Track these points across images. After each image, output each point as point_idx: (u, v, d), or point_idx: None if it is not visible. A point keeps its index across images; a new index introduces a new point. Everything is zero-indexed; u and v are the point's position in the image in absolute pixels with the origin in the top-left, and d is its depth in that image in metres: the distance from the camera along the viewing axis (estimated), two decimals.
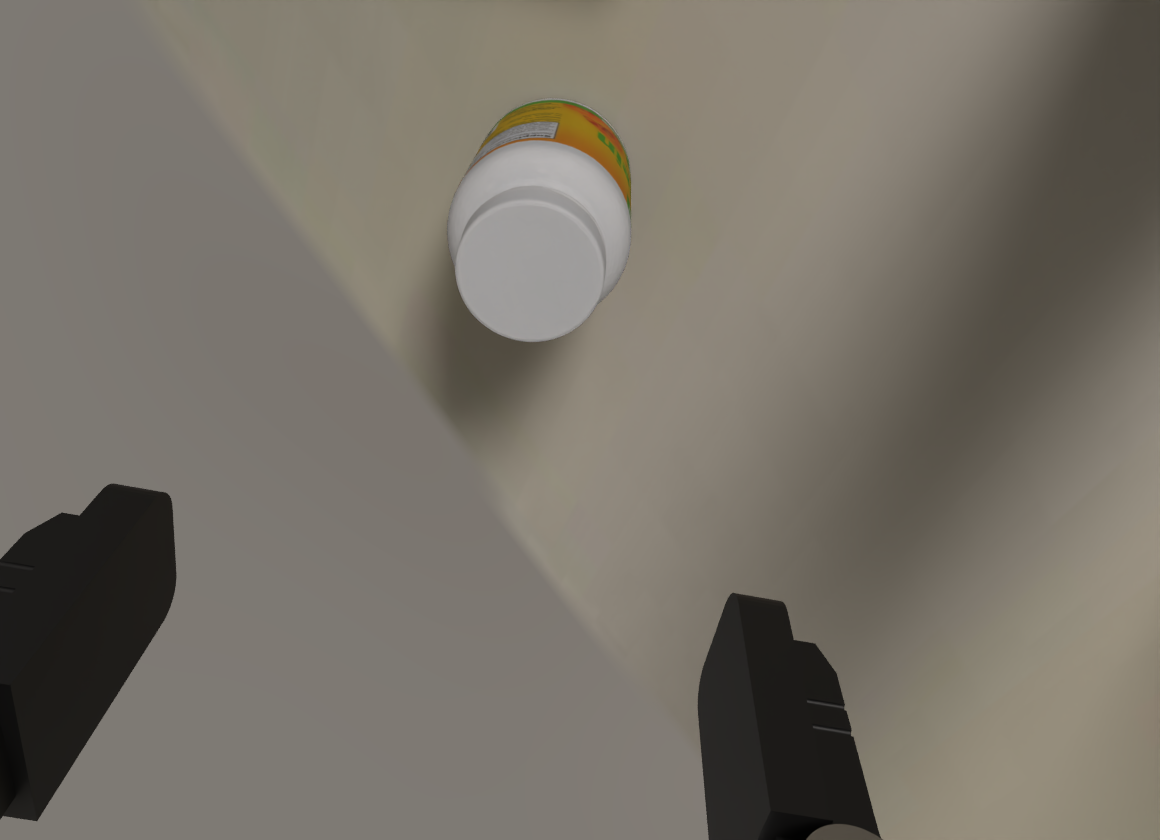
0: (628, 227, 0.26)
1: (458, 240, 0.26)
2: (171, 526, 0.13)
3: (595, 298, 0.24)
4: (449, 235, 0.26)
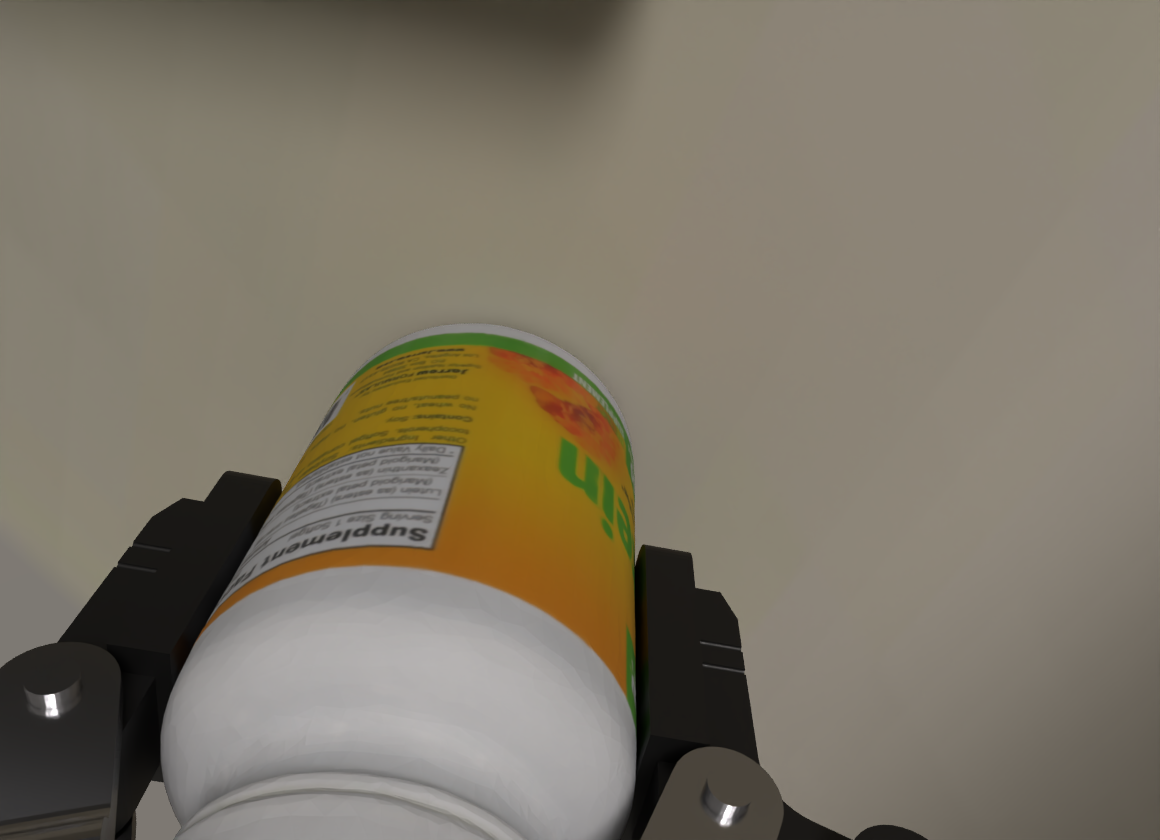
0: (629, 773, 0.10)
1: (182, 811, 0.10)
2: None
3: None
4: (164, 782, 0.10)
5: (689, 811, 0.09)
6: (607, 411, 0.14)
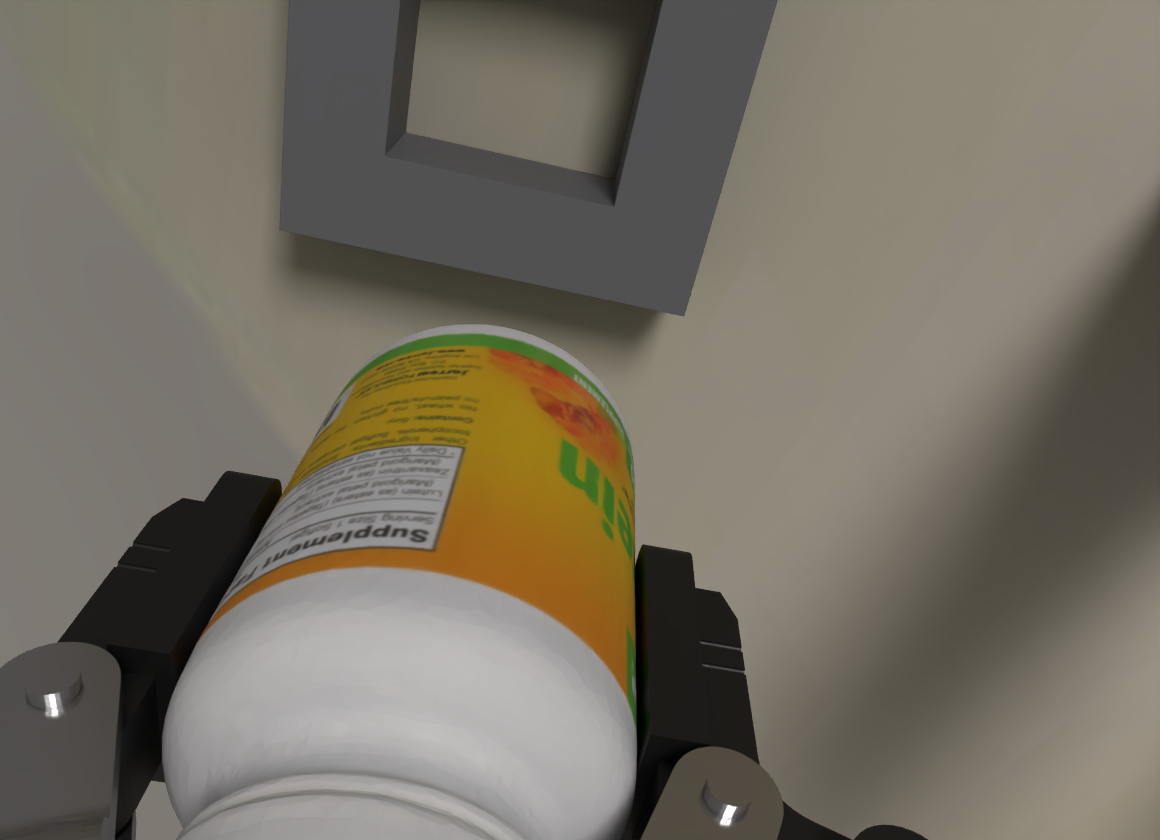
0: (630, 774, 0.10)
1: (182, 812, 0.10)
2: None
3: None
4: (166, 783, 0.10)
5: (689, 811, 0.09)
6: (607, 412, 0.14)
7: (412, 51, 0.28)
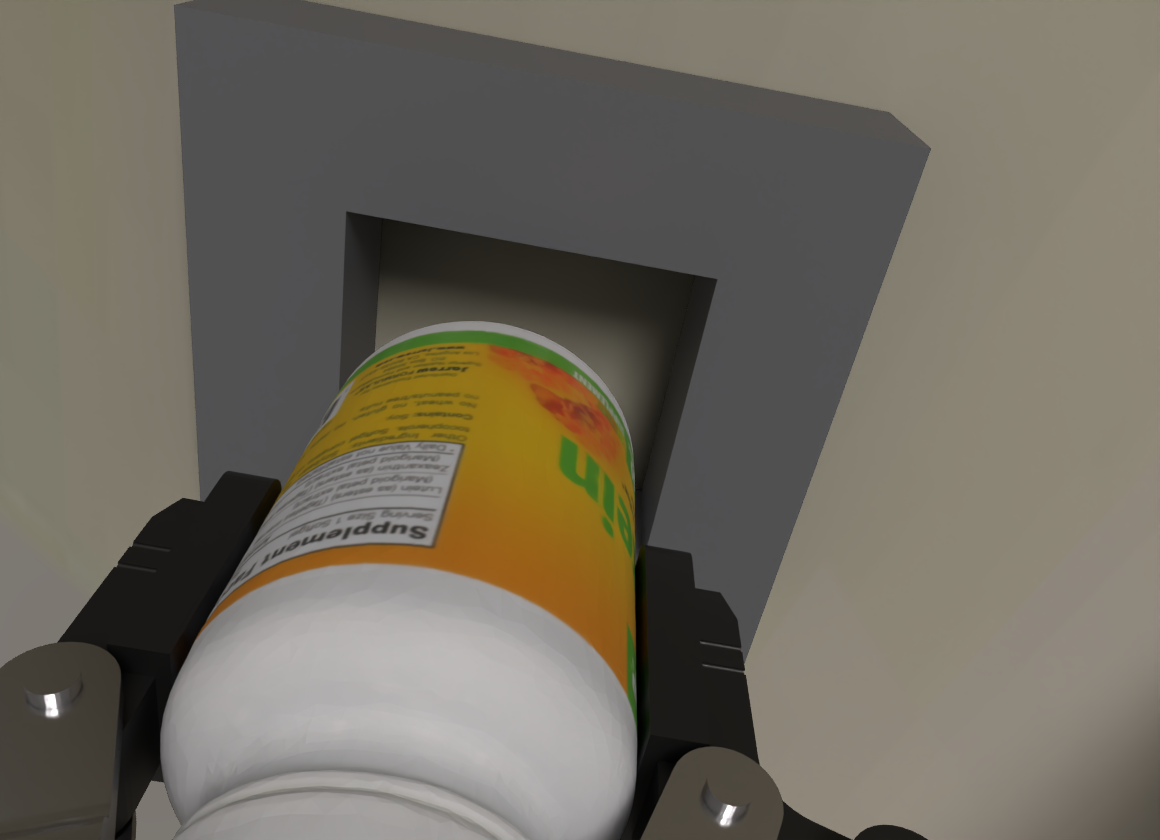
0: (630, 771, 0.10)
1: (181, 810, 0.10)
2: None
3: None
4: (164, 781, 0.10)
5: (689, 811, 0.09)
6: (607, 409, 0.14)
7: None
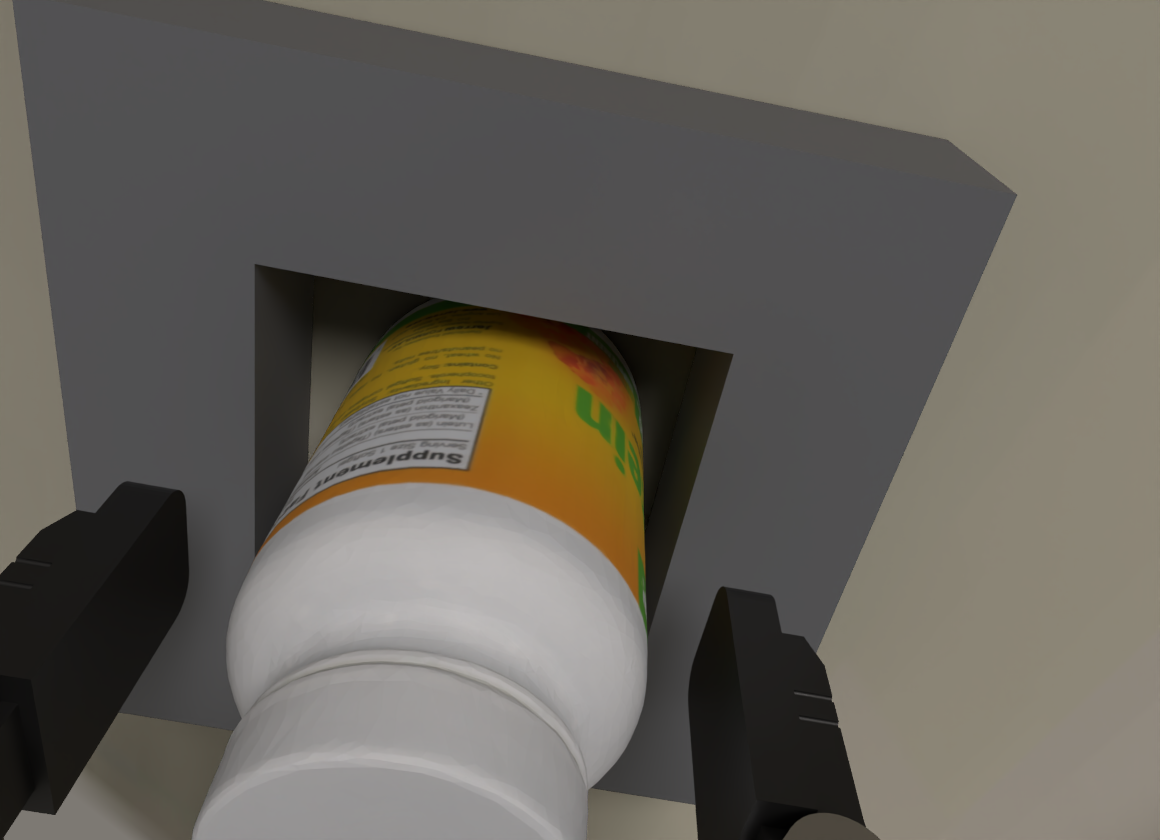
0: (642, 670, 0.11)
1: (246, 703, 0.11)
2: (185, 523, 0.13)
3: None
4: (229, 680, 0.11)
5: None
6: (617, 367, 0.16)
7: (303, 428, 0.17)
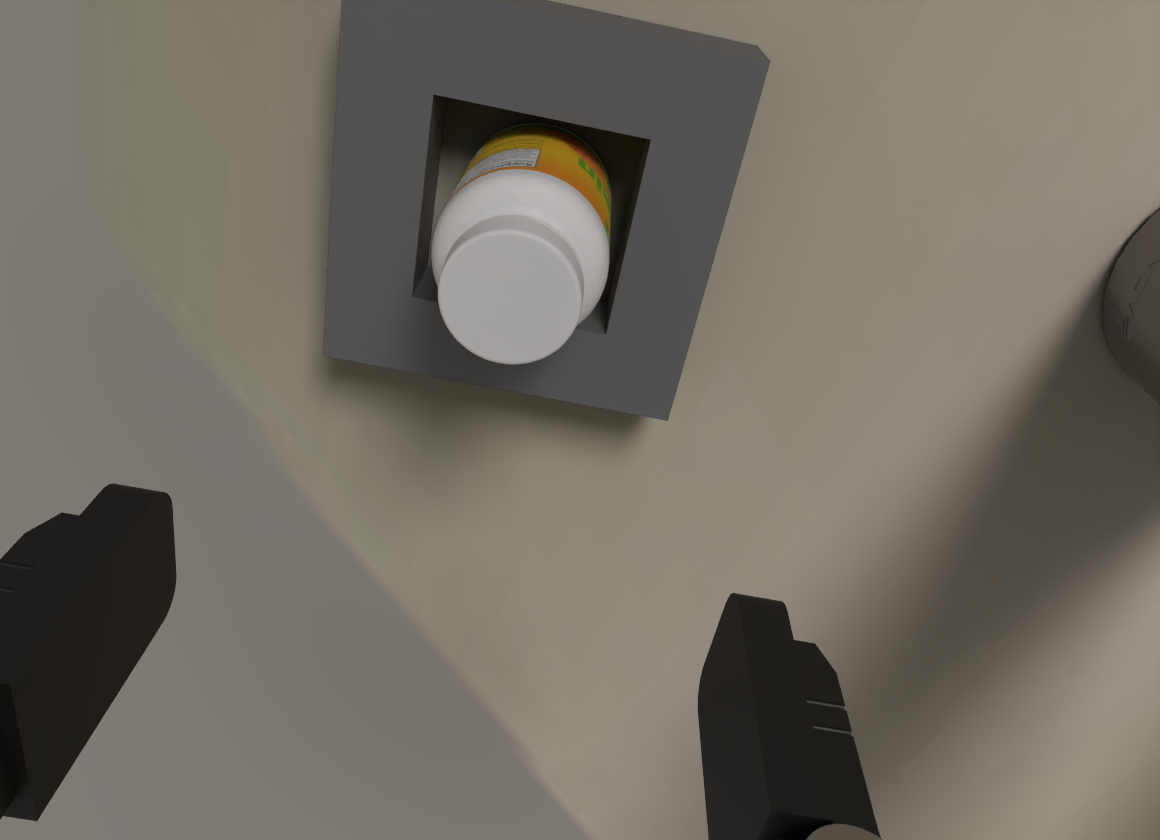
0: (606, 253, 0.27)
1: (442, 265, 0.27)
2: (171, 526, 0.13)
3: (573, 323, 0.25)
4: (433, 259, 0.27)
5: None
6: (598, 162, 0.31)
7: (433, 203, 0.33)
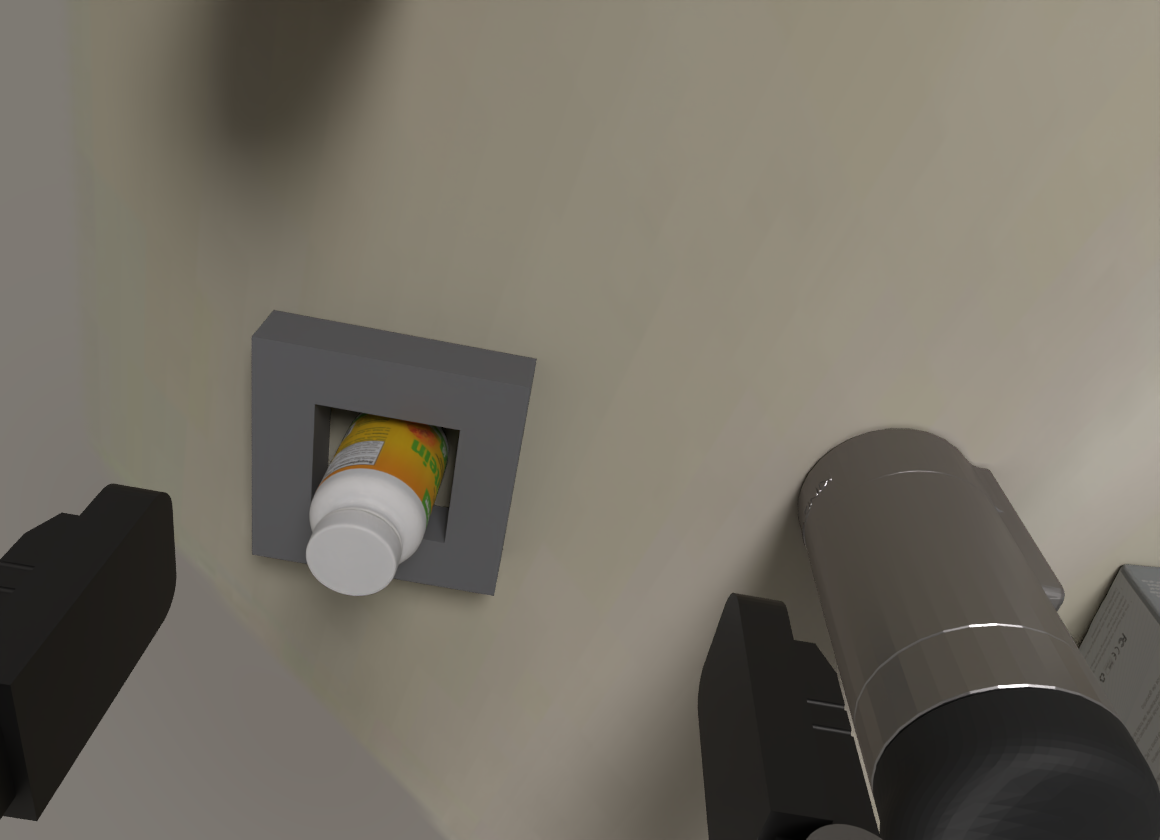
0: (421, 518, 0.41)
1: (315, 527, 0.41)
2: (171, 526, 0.13)
3: (391, 574, 0.40)
4: (310, 522, 0.42)
5: None
6: (434, 430, 0.46)
7: (327, 450, 0.48)
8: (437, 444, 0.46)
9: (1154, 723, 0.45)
